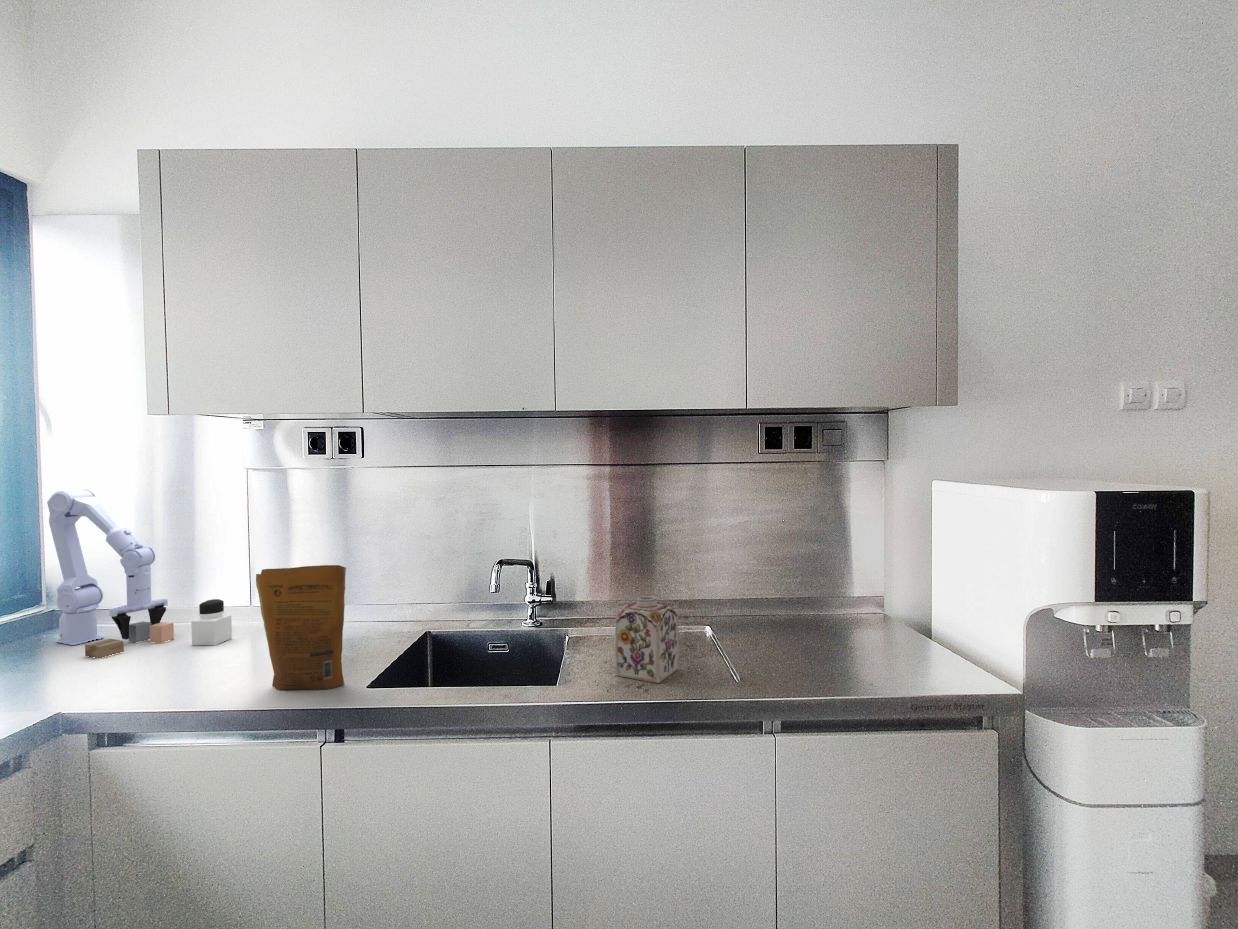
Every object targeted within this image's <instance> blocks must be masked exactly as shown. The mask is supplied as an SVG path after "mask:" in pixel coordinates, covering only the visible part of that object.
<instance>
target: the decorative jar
mask: <svg viewBox="0 0 1238 929" xmlns="http://www.w3.org/2000/svg"><path fill="white" fill-rule="evenodd" d="M657 600H658V599H657V597H656V596H653V595H645V596H644V595H643V596H638V597H637V598H636V602H630V603H627V604H624V605H623V606H622V607H621V609H620V611H619V613H618V615H617V616H616V618H615V620H614V621H615V625H614V626H615V627H614V630H615V631H614V633H615V634H614V648H615V649H614V653H615V654H614V656H615V658H614V659H615V661H614V663H615V676H617V677H621V678H628V679H632V680H638V681H644V682H649V683H653V684H654V683H655V684H660V683H661V682H663V681H665V679H667V678H668V677H670V676H671V675H672V674H674V673H675V672H677V671H678V670H679V667H680V649H679V648H680V644H679V643H680V642H679V639H680V638H679V615H678V613H677V611H675V609H674V608H673V606H670V605H669V604H667V603H665V602H659V601H657Z"/></svg>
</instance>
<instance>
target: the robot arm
mask: <svg viewBox="0 0 1238 929" xmlns="http://www.w3.org/2000/svg"><path fill="white" fill-rule="evenodd" d="M46 503H47V508H48V512H49V517H48V524H49V528H50V532H51V536H52V540H53V544H54V547H55V551H56V555H57V559H58V564H59V567H60V570H61V574H62V578H63V582H61V584H60V585H59V586H58V587H57V589H56V593H57V598H56V606H57V608H58V609H59V610H60V611H62V614H61V615H60V616H59V618H58V629H59V630H58V633H59V634H58V637H59V639H56V640H55V643H59V644H64V645H69V646H75V645H81V644H85V643H89V642H88V641H90V642H93V641H92V640H94V641H97V640H96V639H98V640H102V639H101V638H103V639H105V636H104V635H103V636H102V635H98V613H97V612H98V609H97V608H99V605H100V603H102V601H103V599H104V592H103V589H102V588H101V587H100V585H99V583H98V580H97V579H95V577H92V576H90V575H89V574H88V573H89V572H88V570H87V566H86V563H85V559H84V553H83V551H82V546H81V542H80V539H79V535H78V532H77V527H76V523H77V522H78V521H79V519H80V518H82V517H86V518H87V519H89V521H90V522H91V523H93V524H94V525H95V526H96V527H97V528H98V529H99V530H101V531H102V532H103V533H104V534H105V535H106V537H105V542H106V543H107V544H108V545H109V546H110V547H111V548H112V549H113V550H114V551H115V552H116V553H117V554H118V556H119V557H121V559H120V560H119V562H120V564H121V566H122V567H123V569H124V573H125V577H126V578H125V580H126V582H125V583H126V604H125V605H122V606H118V607H113V608H110V609H109V610H108V611H109V612H108V614H109V615H108V616H109V617H111V620H112V621H114V623H115V624H116V627H117V628H118V630H119V633H120V637H121V639H122V640H129V624H131V623H130V622H131V617H132V616H131V615H128V614H130V613H135V612H140V611H145V610H147V611H148V616H149V622H151V625H154V624H157V623H161V620H162V619H163V616H164V614H165V613H166V611H167V606H168V605H169V604H168V600H169V599H168V598H160V599H154V600H152V580H151V579H152V577H151V576H152V575H151V574H152V573H151V572H152V570H151V565H152V564H153V563H154V562H155V559H156V553H155V551H154V550H153V548H152V547H150V546H147V545H146V546H145V545H144V544H142V543H141V542H140V541H139V540H137V538H136V537H135V536H133V534H132V533H133V532H132V531H131V530H130V529H127V528H125V527H119V526H118V525H117V523H116V522H115V521H114V520H113V519H112V517H111V516H110V515H109V514H108V512H107V511H106V510H105V509H104V507H103V506H102V505H101V499H100V498H99V497H98V496H97V495H96V493H95V492H94V491H93V490H91V489H82V490H68V491H67V490H65V491H63V490H59V491H56V492H54V493H53V494H52V495H51V497H50V498H49V499H48V500H47V502H46Z"/></svg>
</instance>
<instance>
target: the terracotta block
mask: <svg viewBox="0 0 1238 929" xmlns="http://www.w3.org/2000/svg"><path fill="white" fill-rule="evenodd" d="M174 632H175V630H174V622H167V621H166V622H163V621H162V622H161V621H160V623H157V624H154V625H151V626H150V640H149V643H150V642H155V643H154V644H164V643H163V642H165V641H168V640H171V639H174V640H175V633H174ZM171 641H172V640H171ZM168 642H169V641H168ZM165 643H166V642H165Z"/></svg>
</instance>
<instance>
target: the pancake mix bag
mask: <svg viewBox="0 0 1238 929" xmlns="http://www.w3.org/2000/svg"><path fill="white" fill-rule="evenodd" d="M346 572H347V567H346V566H344V565H343V566H342V565H339V564H331V565H329V564H327V565H326V564H322V565H308V566H307V565H304V566H297V567H296V566H295V567H289V568H288V567H283V568H282V567H280V568H264V569H261V572H260V573H256V574H255V585H256V589H257V593H258V599H259V604H260V613H261V617H262V621H263V627H264V632H265V636H266V641H267V648H268V652H269V657H270V662H271V666H272V670H273V679H272V685H271V686H272V687H273V688H274V687H275V688H276V690H277V689H278V690H277V691H282V690H284V691H306V690H307V691H309V690H331V689H336V688H338V687H341V686H344V685H345V679H344V674H343V664H342V655H343V635H344V634H343V632H344V624H345V607H346V606H345V594H346V574H347V573H346ZM275 688H274V689H275Z"/></svg>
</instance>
